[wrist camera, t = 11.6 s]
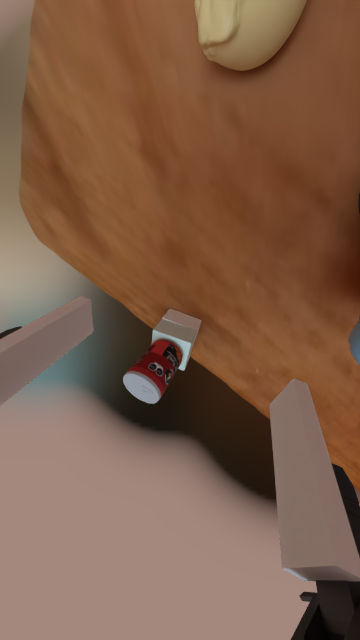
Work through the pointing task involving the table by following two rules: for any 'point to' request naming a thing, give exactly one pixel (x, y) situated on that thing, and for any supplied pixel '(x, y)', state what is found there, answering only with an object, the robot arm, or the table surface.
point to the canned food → (153, 371)
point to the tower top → (176, 338)
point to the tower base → (182, 319)
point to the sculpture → (245, 29)
